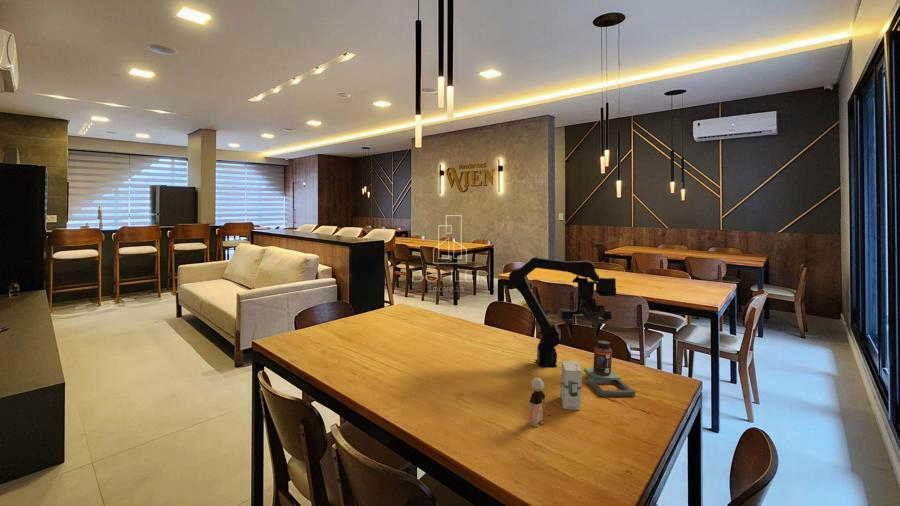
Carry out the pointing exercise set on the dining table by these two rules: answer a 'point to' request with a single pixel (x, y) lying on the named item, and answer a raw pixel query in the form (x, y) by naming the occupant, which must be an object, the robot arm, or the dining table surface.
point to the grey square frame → (610, 393)
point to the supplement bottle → (602, 358)
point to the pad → (594, 375)
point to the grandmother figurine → (536, 403)
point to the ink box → (571, 385)
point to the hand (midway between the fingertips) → (583, 336)
